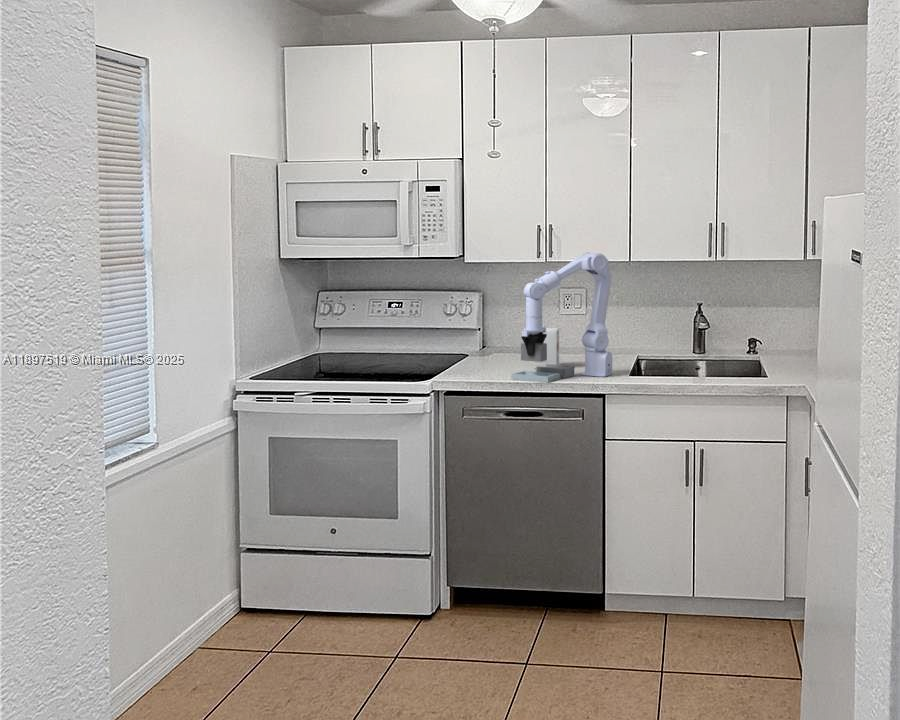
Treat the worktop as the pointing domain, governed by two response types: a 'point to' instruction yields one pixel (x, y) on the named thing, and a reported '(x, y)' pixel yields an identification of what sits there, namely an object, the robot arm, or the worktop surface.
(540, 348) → the caddy
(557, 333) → the grey piece
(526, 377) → the tray
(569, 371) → the bay
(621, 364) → the worktop surface
